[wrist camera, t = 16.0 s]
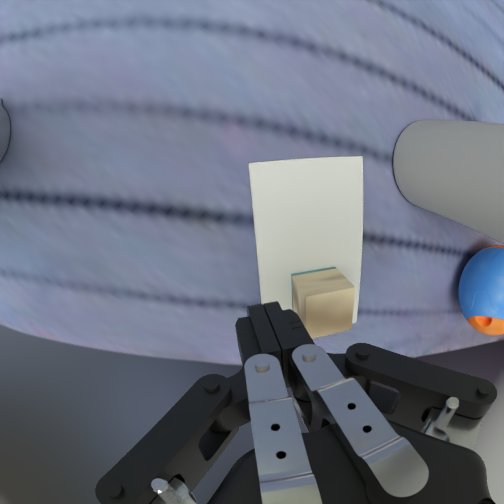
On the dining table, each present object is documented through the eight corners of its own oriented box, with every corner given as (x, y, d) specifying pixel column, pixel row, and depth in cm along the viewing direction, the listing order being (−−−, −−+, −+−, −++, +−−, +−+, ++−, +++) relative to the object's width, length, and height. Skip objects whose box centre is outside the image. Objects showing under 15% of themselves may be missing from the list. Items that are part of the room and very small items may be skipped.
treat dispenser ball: (499, 254, 45) (551, 284, 30) (464, 317, 48) (510, 357, 34) (472, 218, 40) (538, 249, 26) (430, 294, 44) (487, 343, 30)
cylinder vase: (377, 183, 35) (545, 250, 12) (407, 103, 32) (572, 106, 9) (434, 218, 39) (566, 288, 16) (459, 147, 35) (596, 181, 12)
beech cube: (305, 339, 34) (292, 313, 39) (351, 329, 34) (333, 305, 40) (305, 296, 32) (291, 273, 37) (355, 287, 32) (334, 266, 38)
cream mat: (248, 163, 32) (248, 163, 32) (359, 156, 34) (362, 156, 33) (264, 339, 41) (265, 341, 40) (354, 320, 42) (356, 322, 42)
